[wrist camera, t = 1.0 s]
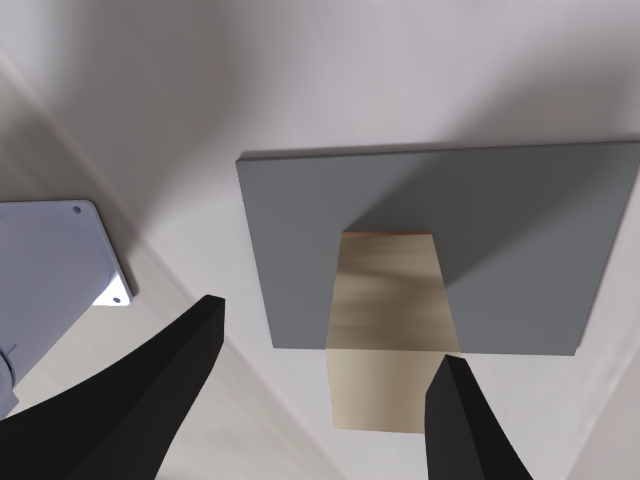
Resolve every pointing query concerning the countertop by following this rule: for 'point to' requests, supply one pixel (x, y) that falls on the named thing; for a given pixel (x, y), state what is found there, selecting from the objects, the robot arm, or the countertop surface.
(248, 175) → the mat
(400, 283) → the block
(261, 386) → the countertop surface
